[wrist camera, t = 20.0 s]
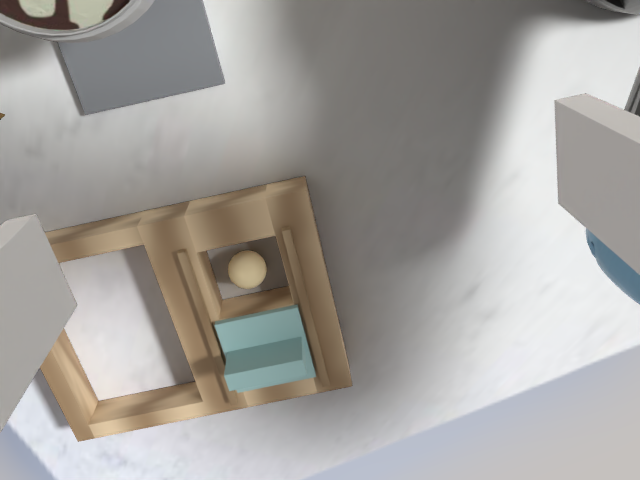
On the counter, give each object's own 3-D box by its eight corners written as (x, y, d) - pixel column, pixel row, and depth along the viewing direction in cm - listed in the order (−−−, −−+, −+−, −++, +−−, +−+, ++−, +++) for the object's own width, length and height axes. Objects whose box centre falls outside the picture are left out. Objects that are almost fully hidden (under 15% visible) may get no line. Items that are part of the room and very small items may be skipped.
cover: (297, 304, 46) (298, 329, 43) (315, 373, 49) (317, 401, 46) (215, 321, 46) (210, 348, 43) (238, 388, 49) (234, 418, 46)
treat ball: (261, 240, 47) (260, 257, 44) (271, 273, 48) (270, 291, 45) (225, 248, 47) (221, 265, 44) (235, 280, 48) (232, 299, 46)
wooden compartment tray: (305, 175, 45) (306, 192, 41) (348, 364, 52) (353, 390, 49) (2, 241, 46) (-20, 263, 42) (88, 417, 53) (75, 446, 50)
